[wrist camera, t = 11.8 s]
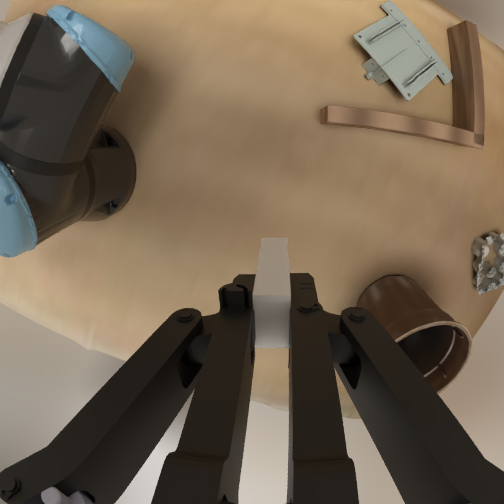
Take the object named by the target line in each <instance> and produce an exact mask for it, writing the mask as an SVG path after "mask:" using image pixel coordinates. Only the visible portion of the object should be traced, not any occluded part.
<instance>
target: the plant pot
mask: <svg viewBox="0 0 504 504" xmlns="http://www.w3.org/2000/svg"><path fill="white" fill-rule="evenodd" d="M357 307H361V308H364V309H367V310H368V311H370V312H371V313H372V314H373V315H374V317H375V318H376V319H377V320H378V321H379V322H380V324H381V325H382V326H383V327H384V328H385V330H386V331H387V332H388V333H389V334H390V335H391V337H392V338H393V339H394V340H395V341H396V343H397V344H398V345H399V346H400V348H401V349H402V350H403V351H404V352H405V354H406V355H407V356H408V357H409V359H410V360H411V361H412V362H413V363H414V365H415V366H416V367H417V368H418V370H419V371H420V372H421V373H422V375H423V376H424V377H425V378H426V380H427V381H428V382H429V384H430V385H431V386H432V387H433V389H434V390H435V391H436V393H437V394H439V393H440V392H442V391H443V390H445V389H446V388H447V387H448V386H450V385H451V384H452V383H453V382H454V381H455V380H456V378H457V377H458V376H459V375H460V373H461V372H462V371H463V369H464V367H465V366H466V364H467V362H468V359H469V357H470V354H471V350H472V339H471V335H470V333H469V331H468V330H467V329H466V328H465V327H464V326H463V325H462V324H460V323H458V322H456V321H454V319H453V318H452V317H451V316H450V315H449V314H447V313H446V312H443V311H442V310H441V309H440V308H439V307H438V306H437V305H436V304H435V303H434V302H433V301H432V299H431V298H430V297H429V296H428V295H427V294H426V293H425V292H424V291H423V290H422V289H421V288H420V287H419V286H418V285H417V284H416V283H415V282H414V281H413V280H412V279H410V278H408V277H406V276H402V275H401V276H387V277H384V278H381V279H379V280H378V281H376V282H374V283H373V284H372V285H370V286H369V287H368V288H367V289H366V290H365V291H364V293H363V294H362V295H361V297H360V299H359V301H358V304H357Z"/></svg>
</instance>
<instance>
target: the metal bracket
mask: <svg viewBox="0 0 504 504" xmlns="http://www.w3.org/2000/svg"><path fill="white" fill-rule="evenodd" d="M381 7H382V8H383V9H384V10H385V12H386V13H387V14H388V16H387V17H385V18H383V19H381V20H379V21H378V22H376V23H374V24H372V25H370V26H369V27H367V28H365V29H363V30H362V31H360V32H358V33H357V34H355V35H354V36H353V37H354V38H355V39H356V41H357V42H358V43H359V44H360V45H361V46H362V47H363V48H364V49H365V50H366V51H367V52H368V53H369V55H370V56H371V57H372V58H371V59H369V60H368V61H367V62H365V63H364V64H363V65H361V66H362V67H363V68H365V69H366V71H367V72H368V74H367V75H365V76H366V78H367V79H371V78H373V80H376V83H377V84H378V85H380V84H381V83H383V82H385V81H387V80H389V79H391V81H392V82H393V83H394V85H395V86H396V87H397V88H398V90H399V91H400V92H401V94H402V95H403V96H404V98H405V99H406V100H407V101H409V100H410V99H411V98H412V97H414V96H415V95H416V94H417V93H418V92H419V91H420V90H421V89H422V88H423V87H424V86H426V85H427V84H428V83H429V82H430V81H431V80H432V79H433V78H434V77H435V76H437V75H438V76H439V77H440V78H441V80H442V81H443V83H444V84H448V83H449V82H450V81H451V80H452V79H453V75H452V73H451V72H450V70H449V69H448V68H447V66H446V65H445V63H444V62H443V61H442V59H441V58H440V57H439V56H438V54H437V53H436V52H435V50H434V49H433V48H432V46H431V45H430V44H429V43H428V41H427V40H426V39H425V38H424V36H423V35H422V34H421V33H420V32H419V30H418V29H417V28H416V27H415V26H414V25H413V23H412V22H411V21H410V20H409V19H408V18H407V17H406V15H405V14H404V13H403V12H402V11H401V10H400V9H399V8H398V7H397V6H396V5H395V4H394V3H393V2H392V1H388V2H385V3H383V4H382V5H381ZM390 10H391V11H390ZM404 25H405V26H404ZM358 35H360V36H361V38H359V37H358ZM372 63H373V64H372ZM442 73H443V74H442ZM382 75H383V76H384V77H383V76H382ZM408 94H409V95H410V97H409V96H408Z"/></svg>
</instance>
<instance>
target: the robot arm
mask: <svg viewBox="0 0 504 504" xmlns="http://www.w3.org/2000/svg"><path fill="white" fill-rule="evenodd" d="M46 14H47V16H43V15H39V14H36V13H33V12H30V13H28V14H26V15H24V16H22V17H20V18H18V19H17V20H15V21H12V22H9V23H6V22H1V21H0V255H1V256H4V257H15V256H18V255H20V254H21V253H23V252H26V251H28V250H32V249H34V248H35V247H36V245H38V244H39V243H41V242H43V241H44V240H46V239H48V238H49V237H51V236H52V235H54V234H56V233H58V232H59V231H61V230H63V229H64V228H66V227H68V226H70V225H72V224H73V223H75V222H77V221H99V220H103V219H106V218H108V217H110V216H112V215H113V214H115V213H117V212H118V211H120V210H121V209H122V208H123V207H124V206H125V205H126V203H127V202H128V200H129V198H130V197H131V194H132V192H133V189H134V185H135V180H136V165H135V160H134V156H133V153H132V150H131V148H130V146H129V144H128V143H127V141H126V140H125V139H124V137H123V136H122V135H121V134H120V133H118V132H117V131H115V130H114V129H112V128H109V127H106V126H101V124H102V122H103V120H104V118H105V116H106V114H107V112H108V111H109V109H110V107H111V105H112V103H113V101H114V99H115V98H116V96H117V94H118V93H120V92H121V86H122V84H123V82H124V80H125V78H126V76H127V74H128V73H129V71H130V69H131V67H132V65H133V63H134V58H135V56H134V51H133V49H132V48H131V46H130V45H129V44H128V43H126V42H125V41H124V40H123V39H121V38H120V37H119V36H117V35H116V34H114V33H113V32H111V31H110V30H108V29H107V28H105V27H104V26H102V25H100V24H99V23H97V22H95V21H93V20H92V19H90V18H88V17H86V16H84V15H82V14H79V13H77V12H75V11H73V10H71V9H70V8H67V7H65V6H62V5H55V6H53V7H52V8H51V9H50V10H48V11H47V13H46ZM218 292H219V301H220V311H219V312H218V313H216V314H213V315H208V316H202V315H201V312H200V311H198V310H196V309H193V308H185V309H180V310H178V311H176V312H174V313H173V314H172V315H171V316H170V317H169V318H168V319H167V320H166V321H165V322H164V323H163V324H162V325H161V326H160V327H159V328H158V329H157V330H156V331H155V332H154V333H153V334H152V335H151V336H150V337H149V338H148V340H147V341H146V342H145V343H144V344H143V345H142V346H141V347H140V348H139V349H138V350H137V351H136V352H135V353H134V354H133V355H132V356H131V357H130V358H129V359H128V360H127V361H126V363H125V364H124V365H123V366H122V367H121V368H120V369H119V370H118V371H117V372H116V373H115V374H114V375H113V376H112V377H111V378H110V379H109V381H108V382H107V383H106V384H105V385H104V386H103V387H102V388H101V389H100V390H99V391H98V392H97V393H96V394H95V396H93V398H92V399H91V400H90V401H89V402H88V403H87V404H86V405H85V406H84V407H83V408H82V409H81V410H80V412H78V414H77V415H76V416H75V417H74V418H73V419H72V420H71V421H70V422H69V423H68V424H67V426H66V427H65V428H64V429H63V430H62V431H61V432H60V433H59V434H58V435H57V436H56V437H55V438H54V440H53V441H52V442H51V443H50V444H49V445H48V446H47V447H45V448H43V449H42V450H40V451H38V452H36V453H34V454H32V455H31V456H29V457H27V458H25V459H23V460H21V461H19V462H18V463H16V464H14V465H12V466H10V467H8V468H6V469H4V470H3V471H2V472H1V473H0V497H1V499H3V500H4V501H5V502H6V503H8V504H114V503H115V502H116V501H117V500H118V499H119V497H120V496H121V495H122V494H123V492H124V491H125V490H126V488H127V487H128V485H129V484H130V483H131V481H132V480H133V478H134V477H135V476H136V474H137V473H138V471H139V469H140V468H141V467H142V466H143V464H144V463H145V461H146V460H147V458H148V457H149V456H150V454H151V453H152V451H153V450H154V448H155V447H156V445H157V444H158V442H159V441H160V439H161V438H162V437H163V435H164V433H165V432H166V430H167V429H168V428H169V426H170V425H171V423H172V422H173V420H174V419H175V417H176V416H177V414H178V413H179V411H180V410H181V408H182V407H183V405H184V404H185V402H186V401H187V399H188V398H189V396H190V395H191V393H192V392H193V390H194V389H195V391H194V394H193V397H192V401H191V404H190V407H189V410H188V414H187V417H186V420H185V424H184V427H183V430H182V434H181V437H180V440H179V444H178V447H177V449H176V451H175V452H171V453H169V454H168V455H167V456H166V459H165V461H164V464H163V467H162V470H161V473H160V477H159V480H158V483H157V486H156V490H155V493H154V496H153V499H152V502H151V504H238V490H239V482H240V474H241V467H242V459H243V451H244V443H245V436H246V427H247V418H248V411H249V403H250V395H251V386H252V378H253V369H254V360H255V348H289V364H288V368H289V453H288V456H289V457H288V489H287V504H359V500H358V490H357V481H356V473H355V466H354V462H353V460H352V459H351V458H349V457H348V455H347V449H346V442H345V434H344V427H343V420H342V413H341V407H340V400H339V394H338V388H337V382H336V376H335V370H334V367H335V369H336V371H337V373H338V375H339V377H340V379H341V381H342V382H343V384H344V386H345V388H346V390H347V392H348V394H349V396H350V397H351V399H352V401H353V403H354V405H355V407H356V409H357V411H358V413H359V415H360V416H361V418H362V420H363V422H364V424H365V426H366V428H367V430H368V432H369V434H370V436H371V437H372V439H373V441H374V443H375V445H376V447H377V449H378V451H379V453H380V455H381V457H382V459H383V460H384V463H385V465H386V467H387V469H388V471H389V472H390V475H391V476H392V478H393V480H394V482H395V484H396V486H397V488H398V490H399V492H400V494H401V496H402V498H403V500H404V502H405V504H504V471H502V470H501V469H499V468H498V467H496V466H495V465H493V464H492V463H490V462H489V461H487V460H486V459H485V458H484V457H483V455H482V454H481V452H480V451H479V450H478V448H477V447H476V446H475V444H474V443H473V441H472V440H471V438H470V437H469V435H468V434H467V433H466V431H465V430H464V429H463V427H462V426H461V424H460V423H459V422H458V420H457V419H456V418H455V416H454V415H453V414H452V412H451V411H450V410H449V408H448V407H447V406H446V405H445V403H444V402H443V400H442V399H441V398H440V397H439V395H438V394H437V393H436V391H435V390H434V389H433V387H432V386H431V385H430V384H429V382H428V381H427V380H426V378H425V377H424V376H423V375H422V373H421V372H420V371H419V370H418V368H417V367H416V366H415V365H414V363H413V362H412V361H411V360H410V359H409V357H408V356H407V355H406V354H405V352H404V351H403V350H402V349H401V348H400V346H399V345H398V344H397V343H396V341H395V340H394V339H393V338H392V337H391V335H390V334H389V333H388V332H387V331H386V330H385V328H384V327H383V326H382V325H381V324H380V322H379V321H378V320H377V319H376V318H375V317H374V315H373V314H372V313H371V312H370V311H368V310H367V309H364V308H361V307H349V308H346V309H344V310H343V311H342V313H341V315H336V314H331V313H328V312H326V311H324V310H323V307H322V306H321V304H320V303H318V298H317V293H316V289H315V283H314V278H313V277H312V276H311V275H310V274H309V273H290V271H289V256H288V242H287V238H262V240H261V246H260V252H259V258H258V265H257V271H256V274H239V275H238V276H237V277H236V278H234V280H233V283H230V284H227V285H224V286H222V287H221V288H220V289H219V290H218Z"/></svg>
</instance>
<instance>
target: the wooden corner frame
mask: <svg viewBox="0 0 504 504" xmlns="http://www.w3.org/2000/svg"><path fill="white" fill-rule="evenodd" d="M447 33H448V40H449V49H450V58H451V71H452V75H453V79H452V90H453V126H449V125H445V124H441V123H437V122H432V121H428V120H423V119H419V118H414V117H409V116H404V115H398V114H392V113H386V112H380V111H373V110H366V109H359V108H350V107H341V106H331V105H328V106H326V107H324V108H323V109H321V124H330V125H341V126H351V127H360V128H368V129H376V130H383V131H390V132H396V133H402V134H408V135H414V136H419V137H424V138H429V139H434V140H439V141H443V142H448V143H452V144H456V145H460V146H466V147H472V148H478V149H484V123H485V109H484V83H483V70H482V60H481V52H480V45H479V38H478V32H477V27H476V25H475V24H473V23H471V22H469V21H466V20H465V21H463V22H461V23H459V24H457V25H455V26H453V27H451V28H449V29H447Z"/></svg>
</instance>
